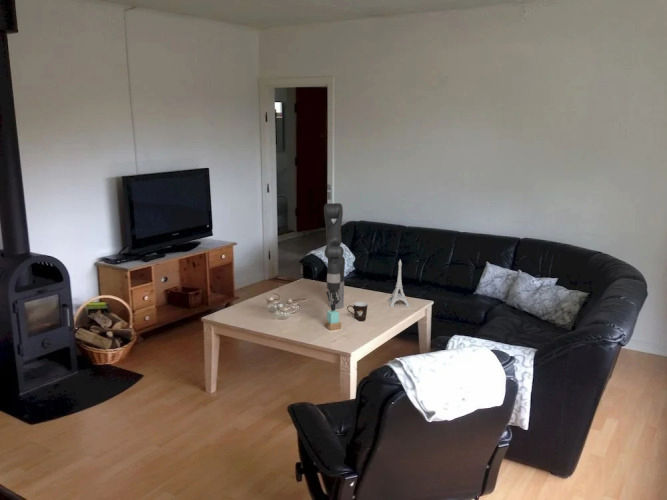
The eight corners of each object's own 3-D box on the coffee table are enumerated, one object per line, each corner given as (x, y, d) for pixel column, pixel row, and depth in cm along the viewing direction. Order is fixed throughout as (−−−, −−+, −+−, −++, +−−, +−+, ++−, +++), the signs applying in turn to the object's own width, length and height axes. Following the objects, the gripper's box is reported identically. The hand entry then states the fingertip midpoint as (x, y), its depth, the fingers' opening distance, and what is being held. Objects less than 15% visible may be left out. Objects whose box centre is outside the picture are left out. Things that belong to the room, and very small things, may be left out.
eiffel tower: (386, 300, 403) (388, 257, 396) (406, 300, 404) (408, 257, 397) (389, 307, 390) (391, 262, 383) (410, 306, 391) (412, 262, 384)
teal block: (326, 321, 345) (327, 311, 343) (334, 319, 347) (334, 309, 346) (330, 323, 340) (331, 313, 339) (338, 322, 343) (338, 312, 341)
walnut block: (324, 327, 346) (324, 320, 345) (335, 325, 349) (335, 319, 348) (330, 331, 340) (330, 324, 339) (341, 329, 343) (341, 322, 342)
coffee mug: (369, 319, 365) (370, 303, 363) (363, 323, 358) (363, 307, 356) (353, 315, 371) (353, 300, 369) (346, 319, 364) (346, 303, 362)
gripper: (322, 278, 342) (322, 307, 346) (333, 284, 331) (332, 314, 335) (334, 277, 346) (333, 306, 349) (345, 282, 334) (344, 312, 338)
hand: (333, 310), depth 342 cm, fingers closed
